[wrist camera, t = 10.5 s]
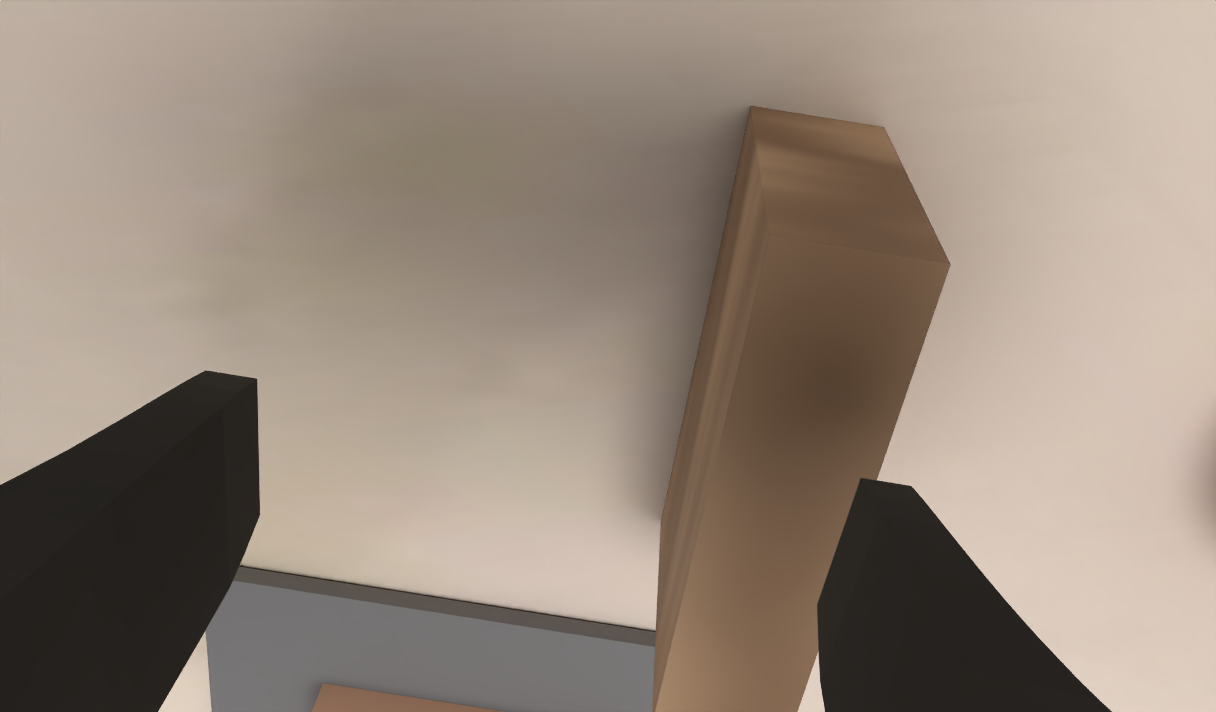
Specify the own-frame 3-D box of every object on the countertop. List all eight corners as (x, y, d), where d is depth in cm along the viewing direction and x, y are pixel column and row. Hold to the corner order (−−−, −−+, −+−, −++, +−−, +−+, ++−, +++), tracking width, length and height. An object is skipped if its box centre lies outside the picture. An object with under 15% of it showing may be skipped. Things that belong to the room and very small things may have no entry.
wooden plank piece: (661, 519, 25) (651, 727, 19) (750, 104, 19) (770, 234, 14) (766, 536, 25) (784, 748, 19) (882, 125, 20) (950, 264, 14)
